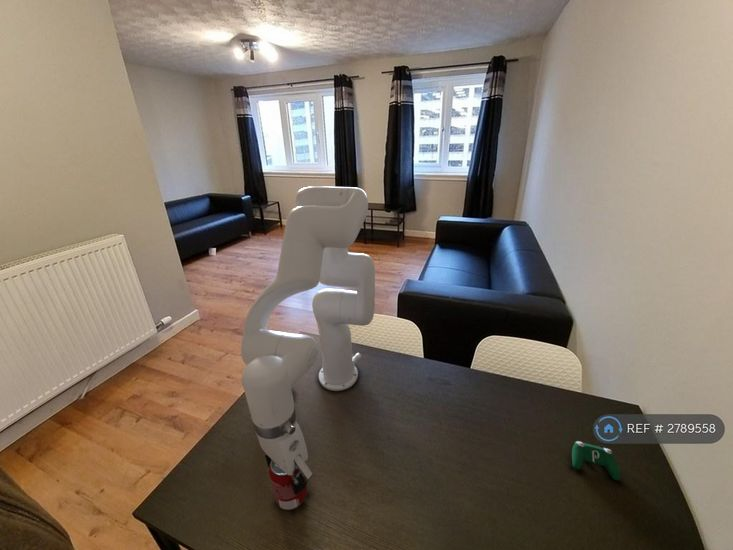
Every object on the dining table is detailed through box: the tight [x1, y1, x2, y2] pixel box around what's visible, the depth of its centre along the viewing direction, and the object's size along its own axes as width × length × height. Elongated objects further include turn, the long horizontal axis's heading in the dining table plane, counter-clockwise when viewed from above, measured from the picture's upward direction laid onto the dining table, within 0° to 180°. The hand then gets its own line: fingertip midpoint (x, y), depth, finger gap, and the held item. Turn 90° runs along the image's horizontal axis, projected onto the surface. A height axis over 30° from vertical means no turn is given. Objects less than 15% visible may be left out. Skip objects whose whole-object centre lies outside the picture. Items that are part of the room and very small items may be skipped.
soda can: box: [268, 460, 308, 511], centre depth 64 cm, size 7×7×12 cm
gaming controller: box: [571, 440, 621, 481], centre depth 71 cm, size 9×4×6 cm
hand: (287, 474), depth 63 cm, fingers open, 7 cm apart
